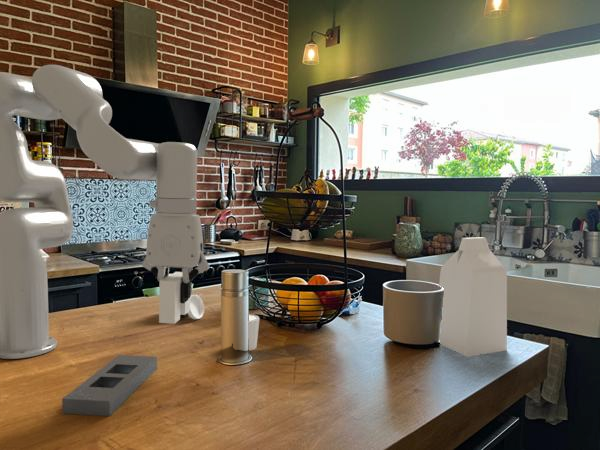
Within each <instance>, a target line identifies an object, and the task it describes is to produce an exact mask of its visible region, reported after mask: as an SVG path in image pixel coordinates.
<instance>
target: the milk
mask: <svg viewBox="0 0 600 450" xmlns="http://www.w3.org/2000/svg"><path fill="white" fill-rule="evenodd" d="M439 273H440V274H439V281H438V282H439V284H438V288H439V287H440V286H441V288H442V287H443V288H444V297H443V307H442V320H441V333H440V344H441V346H443V347H445V348H447V349H449V350H451V351H453V352H455V351H456V352H455V353H457V352H458V354H459V355H461V356H464V357H467V358H469V357H474V355H476V356H481V355H480V354H482V355H486V354H487V353H488V354H494V353H499V352H505V351H507V349H508V347H507V345H508V341H507V340H508V339H507V338H508V336H507V335H508V328H507V327H508V274H507V273H508V272H507V271H506V268H505V266H504V265H503V264H502V263H501V262H500V260H499V259H498V258H497V257H496V256H495V254H494V252H492V250H491V249H490V247H489V244H488V240H487V238H486V237H482V236H481V237H479V236H478V237H462V238H461V241H460V244H459V248H458V250H456V252H454V253H453V254H452V255H451V256H450V257H449V258H448V259H447V260H446V261H444V263H443V264H442V266H441V268H440V272H439ZM440 344H439V345H440Z"/></svg>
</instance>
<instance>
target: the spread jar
mask: <svg viewBox="0 0 600 450" xmlns="http://www.w3.org/2000/svg"><path fill="white" fill-rule="evenodd" d="M171 274H172V273H169V275H171ZM192 288H193V287H192V285H191V296H190V311H189V312H188V313H187V314H185V315H180V318H182V319H186V318H185V317H187V318H191V320H195V321H196V320H199V319H202V317H203V316H204V313H205V304H204V302H203V300H202V298H201V296H199V294H193V289H192Z"/></svg>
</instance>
